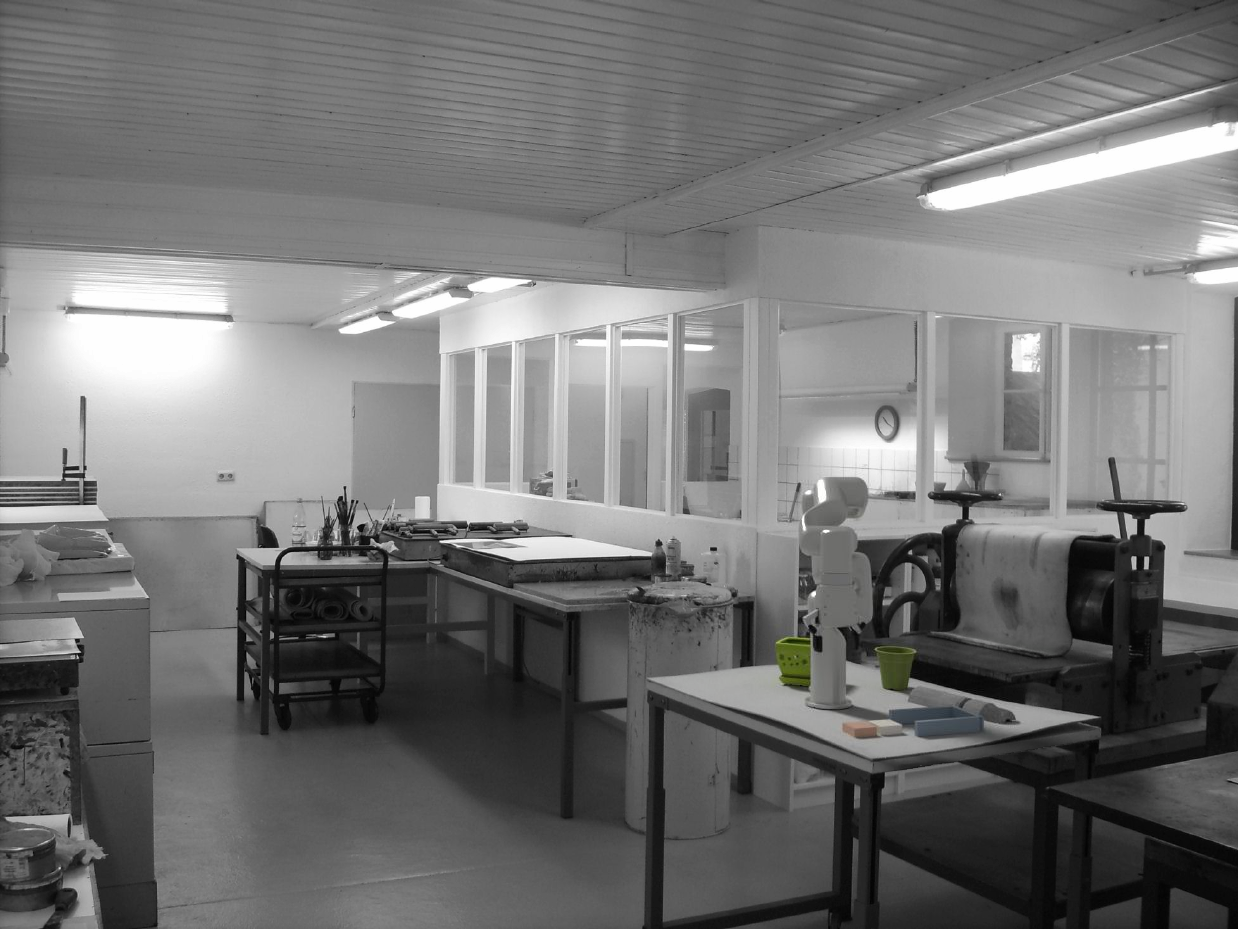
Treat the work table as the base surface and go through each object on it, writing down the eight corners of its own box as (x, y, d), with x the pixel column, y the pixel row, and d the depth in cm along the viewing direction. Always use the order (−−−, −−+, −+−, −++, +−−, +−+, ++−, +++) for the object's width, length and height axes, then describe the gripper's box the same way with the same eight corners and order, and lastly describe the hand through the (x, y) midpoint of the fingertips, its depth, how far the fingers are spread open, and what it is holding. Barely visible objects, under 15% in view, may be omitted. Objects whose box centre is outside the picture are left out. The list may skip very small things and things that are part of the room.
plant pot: (899, 694, 305) (899, 654, 305) (866, 687, 314) (866, 649, 314) (924, 688, 312) (924, 650, 312) (891, 682, 322) (891, 644, 322)
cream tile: (867, 731, 265) (867, 720, 265) (889, 729, 267) (889, 719, 267) (880, 737, 259) (880, 726, 259) (902, 735, 261) (902, 725, 261)
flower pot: (819, 689, 311) (819, 646, 311) (773, 685, 317) (773, 642, 317) (831, 680, 324) (831, 639, 324) (787, 677, 330) (787, 635, 330)
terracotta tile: (842, 733, 263) (842, 722, 263) (864, 731, 265) (864, 721, 265) (854, 739, 257) (854, 728, 257) (876, 737, 259) (876, 727, 259)
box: (889, 723, 271) (889, 710, 271) (953, 718, 276) (953, 705, 276) (917, 736, 258) (917, 722, 258) (983, 731, 263) (983, 717, 263)
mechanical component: (929, 684, 300) (1019, 705, 274) (929, 699, 300) (1019, 722, 274) (907, 688, 296) (996, 709, 270) (907, 703, 296) (996, 726, 270)
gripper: (859, 577, 264) (859, 646, 264) (796, 579, 259) (796, 650, 259) (875, 580, 257) (875, 651, 257) (811, 582, 252) (811, 655, 252)
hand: (836, 650), depth 258 cm, fingers open, 9 cm apart
